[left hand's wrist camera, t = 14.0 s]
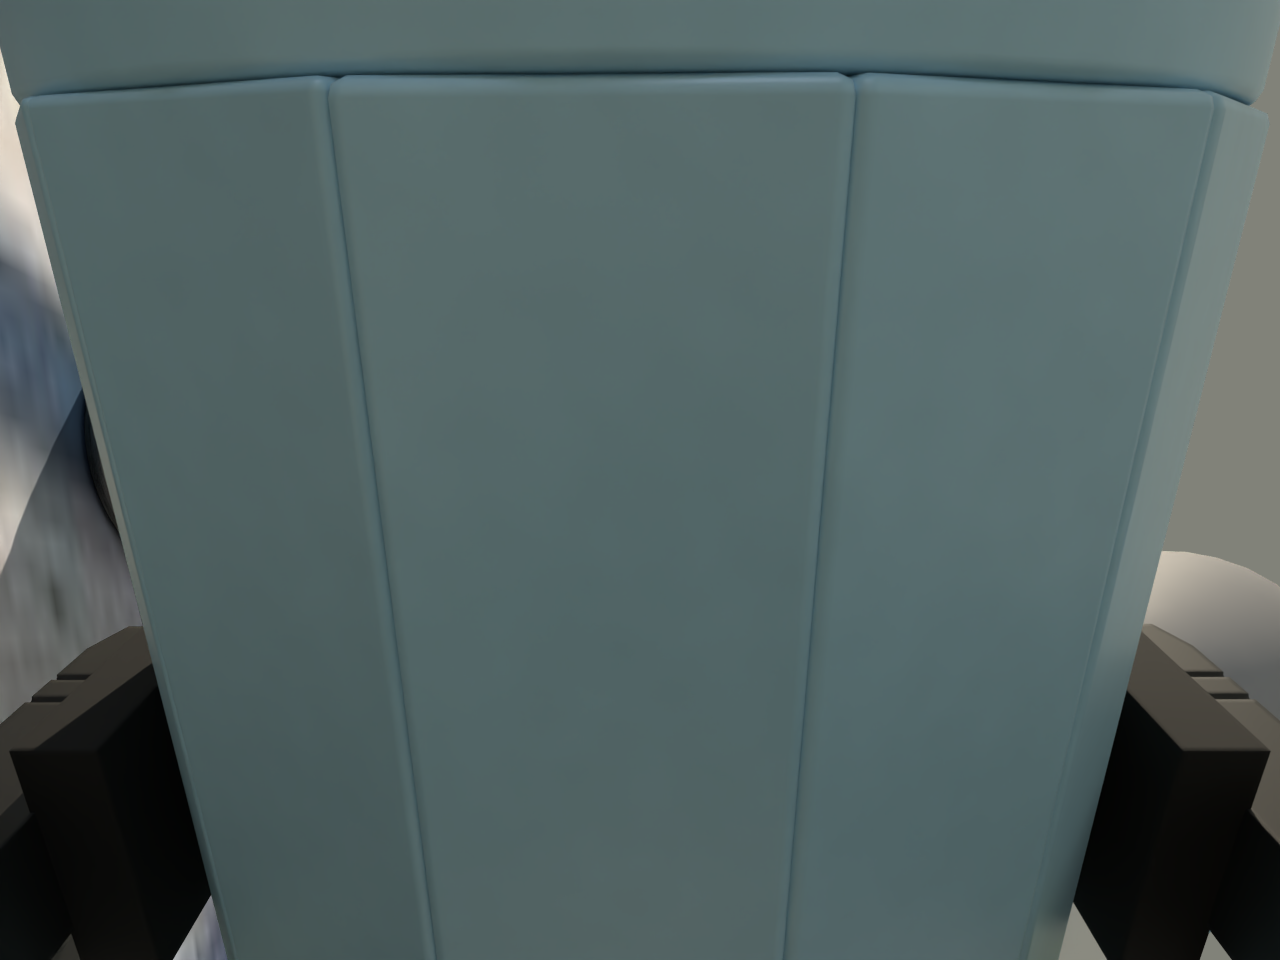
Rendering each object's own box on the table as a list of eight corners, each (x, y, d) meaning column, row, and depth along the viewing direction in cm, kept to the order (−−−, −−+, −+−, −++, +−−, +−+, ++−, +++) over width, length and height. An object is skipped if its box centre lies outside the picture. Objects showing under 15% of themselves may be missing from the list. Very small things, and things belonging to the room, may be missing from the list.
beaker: (1873, -146, 4) (1186, 1390, 8) (883, 76, 12) (819, 757, 16) (-881, -385, 2) (179, 1690, 6) (224, 64, 10) (350, 819, 15)
